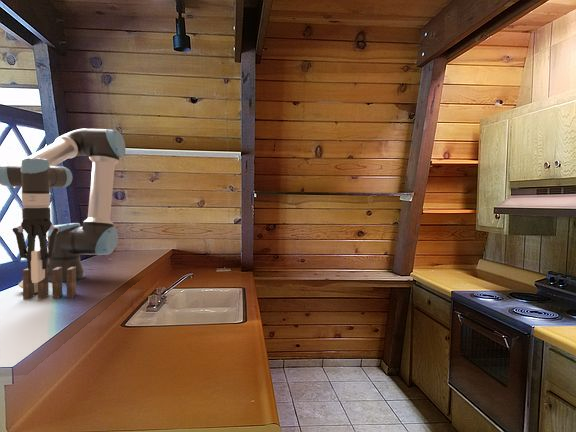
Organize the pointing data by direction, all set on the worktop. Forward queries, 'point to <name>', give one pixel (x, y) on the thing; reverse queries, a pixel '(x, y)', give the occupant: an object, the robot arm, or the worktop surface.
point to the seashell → (34, 286)
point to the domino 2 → (35, 265)
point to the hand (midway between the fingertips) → (38, 278)
